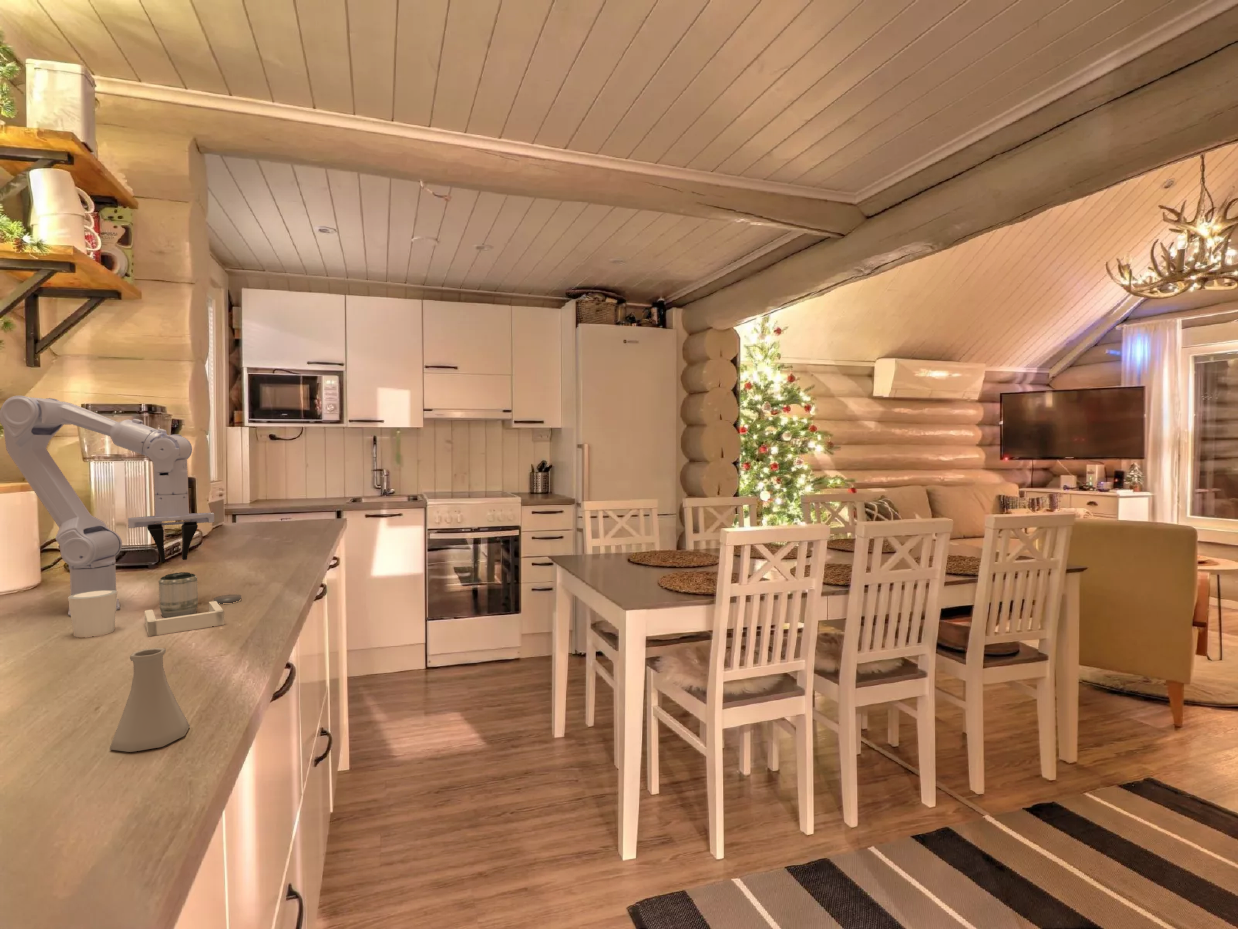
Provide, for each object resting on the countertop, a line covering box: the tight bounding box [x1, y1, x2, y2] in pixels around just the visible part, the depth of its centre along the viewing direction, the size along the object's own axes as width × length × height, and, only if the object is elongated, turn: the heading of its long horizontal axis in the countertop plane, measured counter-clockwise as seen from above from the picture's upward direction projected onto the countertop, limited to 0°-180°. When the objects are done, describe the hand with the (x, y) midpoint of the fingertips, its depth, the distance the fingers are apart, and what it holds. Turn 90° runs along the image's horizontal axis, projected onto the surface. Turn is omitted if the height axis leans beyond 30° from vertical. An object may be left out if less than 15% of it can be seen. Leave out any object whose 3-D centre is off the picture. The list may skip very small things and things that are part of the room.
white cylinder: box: [67, 589, 118, 638], centre depth 117 cm, size 7×7×7 cm
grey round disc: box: [213, 594, 242, 604], centre depth 140 cm, size 5×5×1 cm
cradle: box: [144, 600, 225, 637], centre depth 122 cm, size 10×11×2 cm
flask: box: [109, 647, 191, 753], centre depth 75 cm, size 7×7×10 cm
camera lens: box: [158, 571, 199, 618], centre depth 130 cm, size 6×6×8 cm
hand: (173, 560), depth 136 cm, fingers open, 3 cm apart
